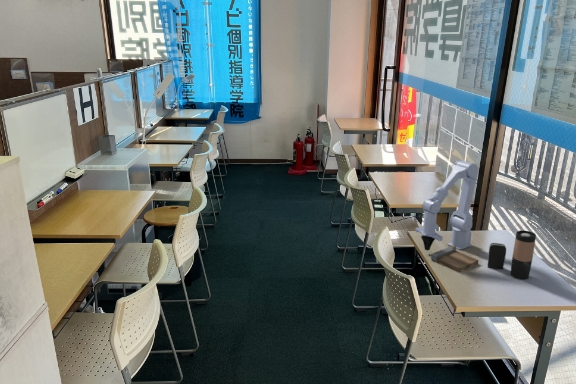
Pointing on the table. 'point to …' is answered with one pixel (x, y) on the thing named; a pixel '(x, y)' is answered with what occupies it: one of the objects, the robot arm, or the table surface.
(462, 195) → the robot arm
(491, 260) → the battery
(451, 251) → the gray rectangular bar
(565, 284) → the table surface
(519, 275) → the travel mug
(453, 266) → the stool seat
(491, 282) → the table surface
